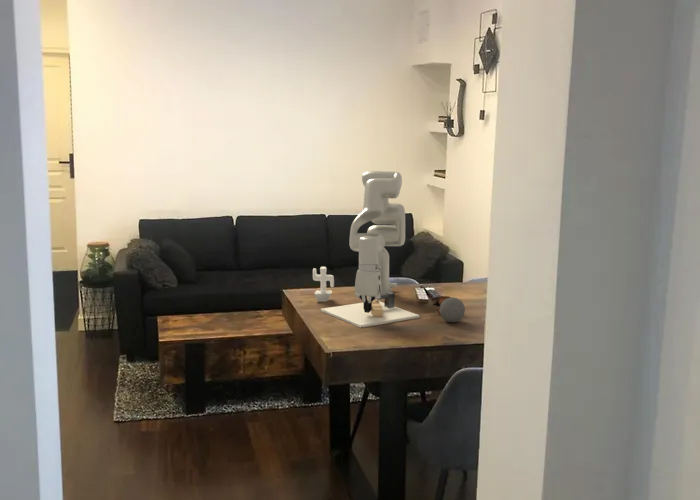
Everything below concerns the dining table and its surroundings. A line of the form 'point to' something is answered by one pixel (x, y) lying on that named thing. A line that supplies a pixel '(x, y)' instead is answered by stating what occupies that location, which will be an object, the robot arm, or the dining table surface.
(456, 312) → the decorative ball
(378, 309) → the oak link
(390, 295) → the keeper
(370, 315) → the pivot board
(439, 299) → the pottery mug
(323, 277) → the figurine
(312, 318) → the dining table surface
